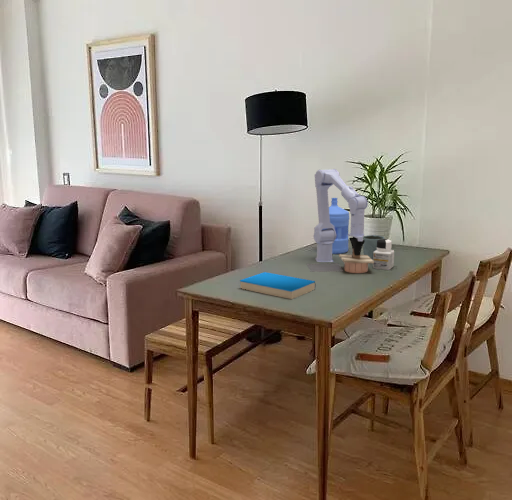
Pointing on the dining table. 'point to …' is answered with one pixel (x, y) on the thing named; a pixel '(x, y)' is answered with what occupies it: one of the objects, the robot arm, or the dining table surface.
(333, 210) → the water jug
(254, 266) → the dining table surface
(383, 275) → the dining table surface
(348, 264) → the bowl
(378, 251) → the container
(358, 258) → the lid
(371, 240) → the dark green cup
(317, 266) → the mat
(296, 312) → the dining table surface
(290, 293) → the book
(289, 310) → the dining table surface
